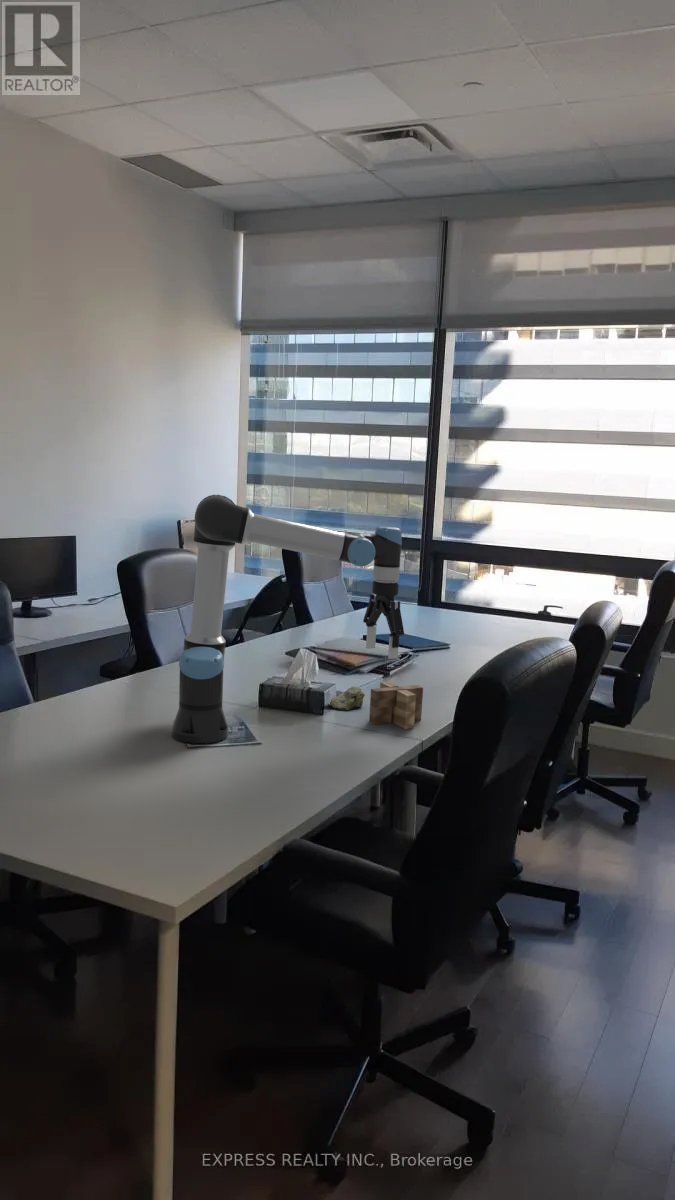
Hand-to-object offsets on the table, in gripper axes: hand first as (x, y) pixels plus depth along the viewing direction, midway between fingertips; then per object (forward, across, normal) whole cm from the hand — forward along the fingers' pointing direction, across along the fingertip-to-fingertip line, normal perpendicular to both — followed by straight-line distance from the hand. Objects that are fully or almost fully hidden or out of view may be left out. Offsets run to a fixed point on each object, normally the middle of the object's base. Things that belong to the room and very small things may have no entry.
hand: (381, 653), depth 262 cm
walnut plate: (+21, 0, -6) cm, 22 cm away
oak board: (+21, 0, -6) cm, 22 cm away
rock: (+21, +18, +2) cm, 28 cm away
